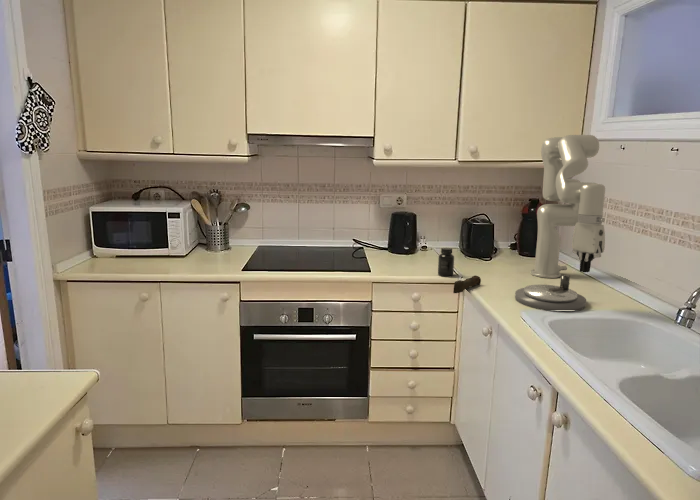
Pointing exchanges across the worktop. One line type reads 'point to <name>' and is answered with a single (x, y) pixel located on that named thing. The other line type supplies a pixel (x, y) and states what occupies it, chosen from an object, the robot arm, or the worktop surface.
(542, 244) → the robot arm
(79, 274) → the worktop surface
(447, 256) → the supplement bottle
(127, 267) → the worktop surface
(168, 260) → the worktop surface
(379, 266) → the worktop surface
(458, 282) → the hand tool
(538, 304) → the dial base
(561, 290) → the dial
